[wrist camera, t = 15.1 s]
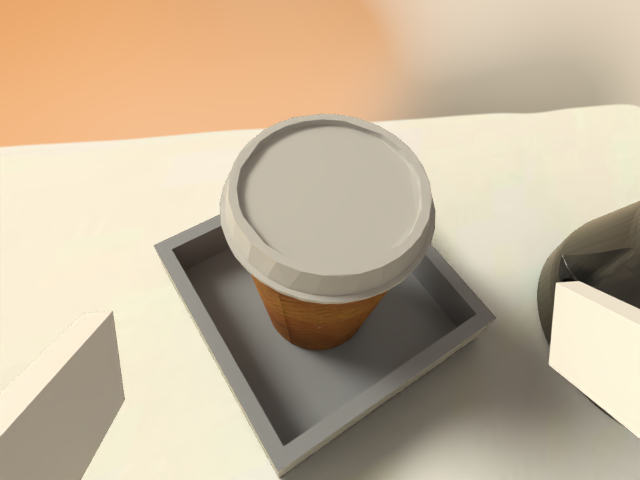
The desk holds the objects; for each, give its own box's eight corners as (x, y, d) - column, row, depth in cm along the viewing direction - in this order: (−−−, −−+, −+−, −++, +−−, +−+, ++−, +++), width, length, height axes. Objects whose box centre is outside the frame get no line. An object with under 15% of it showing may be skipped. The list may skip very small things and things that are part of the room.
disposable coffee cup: (231, 372, 27) (195, 278, 17) (252, 234, 32) (234, 99, 22) (393, 382, 27) (454, 296, 17) (388, 245, 32) (434, 114, 22)
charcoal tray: (345, 184, 36) (350, 153, 33) (475, 338, 30) (496, 317, 27) (166, 272, 31) (153, 245, 28) (279, 478, 25) (277, 472, 22)
